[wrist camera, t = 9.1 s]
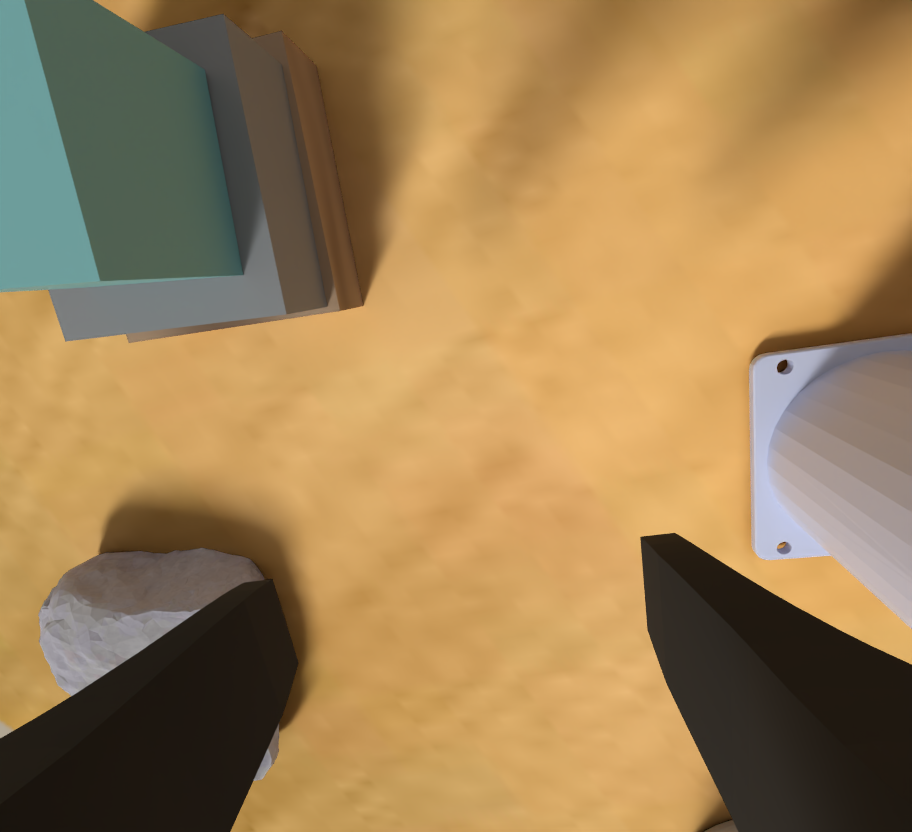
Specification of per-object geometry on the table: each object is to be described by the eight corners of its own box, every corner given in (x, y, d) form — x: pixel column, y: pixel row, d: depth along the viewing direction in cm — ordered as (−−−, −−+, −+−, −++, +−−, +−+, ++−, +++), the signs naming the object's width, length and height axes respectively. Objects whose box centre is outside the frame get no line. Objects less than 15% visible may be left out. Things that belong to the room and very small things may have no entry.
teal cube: (204, 69, 12) (11, -51, 7) (243, 275, 13) (100, 280, 9) (31, 93, 13) (-245, -3, 8) (85, 287, 14) (-124, 298, 9)
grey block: (281, 64, 14) (223, 14, 12) (327, 307, 16) (286, 314, 13) (76, 107, 16) (-25, 70, 13) (140, 329, 17) (65, 341, 15)
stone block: (287, 526, 24) (75, 543, 24) (257, 589, 20) (-6, 612, 19) (319, 710, 28) (137, 729, 27) (300, 799, 23) (81, 823, 23)
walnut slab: (321, 71, 17) (281, 30, 14) (366, 305, 19) (339, 310, 16) (121, 118, 18) (46, 90, 16) (183, 332, 20) (128, 342, 18)
